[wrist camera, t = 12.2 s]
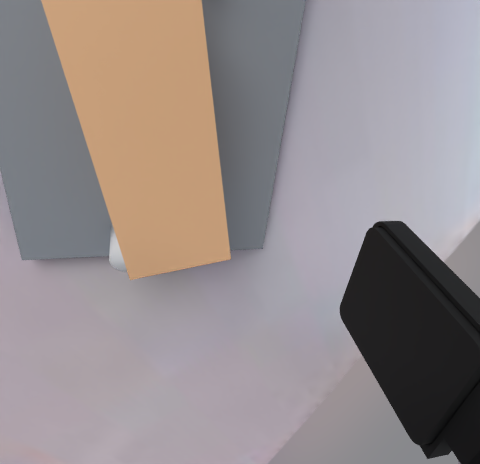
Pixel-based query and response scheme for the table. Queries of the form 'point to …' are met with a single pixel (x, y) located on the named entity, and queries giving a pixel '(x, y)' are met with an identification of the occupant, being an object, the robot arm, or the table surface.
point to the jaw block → (147, 125)
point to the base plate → (75, 147)
